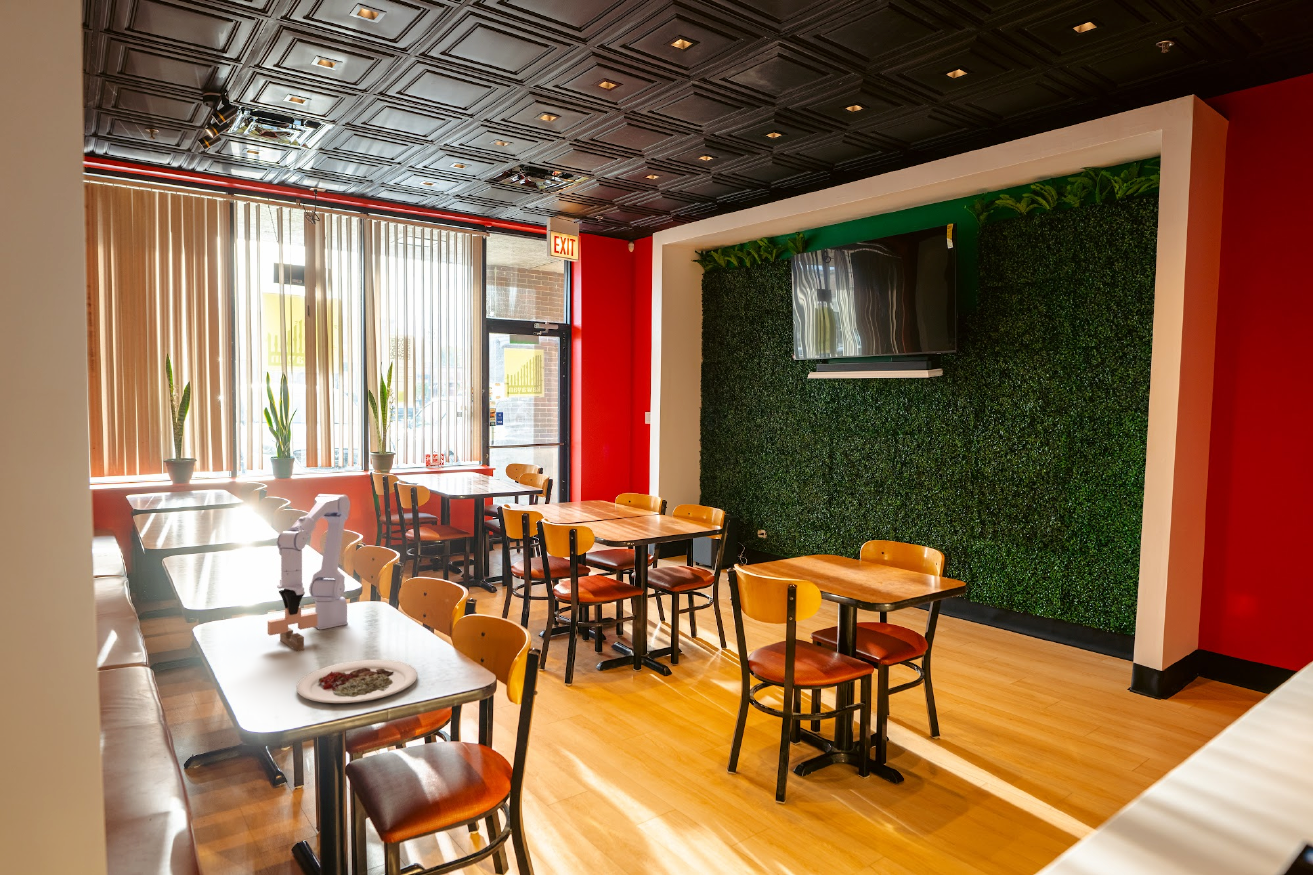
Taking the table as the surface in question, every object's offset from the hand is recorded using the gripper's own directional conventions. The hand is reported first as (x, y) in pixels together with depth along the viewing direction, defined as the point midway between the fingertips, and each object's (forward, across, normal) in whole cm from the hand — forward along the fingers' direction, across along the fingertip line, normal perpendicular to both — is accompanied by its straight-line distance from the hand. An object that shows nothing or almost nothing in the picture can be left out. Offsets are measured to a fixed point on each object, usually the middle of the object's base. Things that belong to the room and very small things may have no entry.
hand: (291, 613), depth 228 cm
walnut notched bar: (+10, 0, 0) cm, 10 cm away
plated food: (+10, +45, +1) cm, 46 cm away
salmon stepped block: (+5, 0, 0) cm, 5 cm away
